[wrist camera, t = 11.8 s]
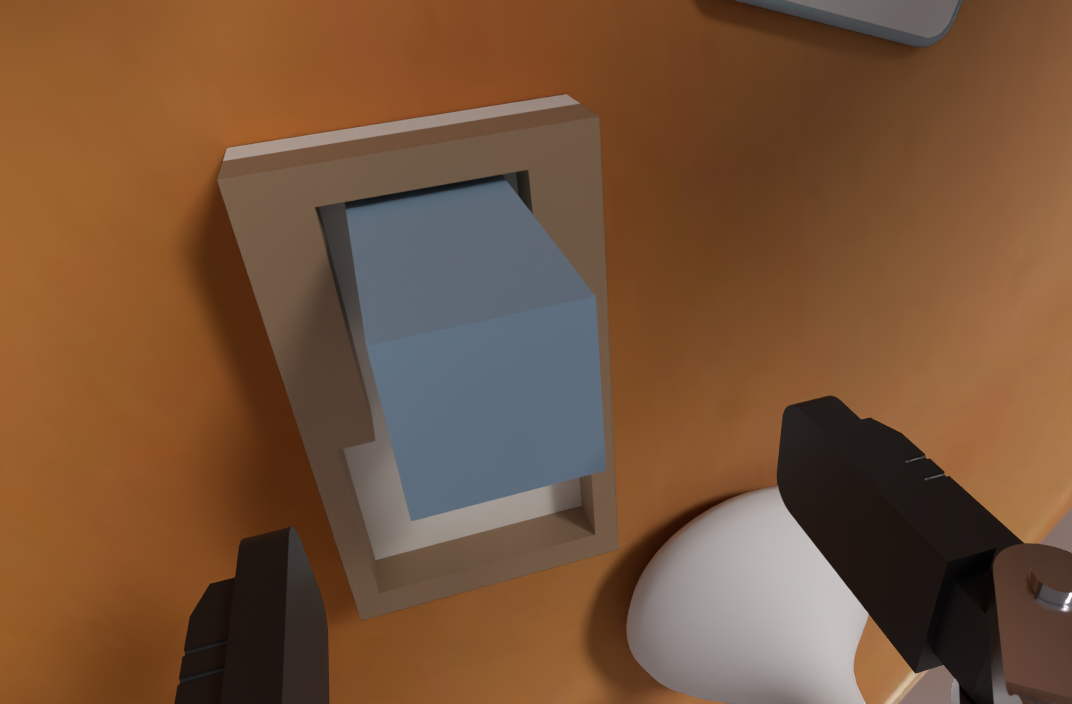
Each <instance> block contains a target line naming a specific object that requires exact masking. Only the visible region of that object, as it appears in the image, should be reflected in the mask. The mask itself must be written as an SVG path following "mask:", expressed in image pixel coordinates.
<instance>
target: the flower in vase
mask: <svg viewBox="0 0 1072 704" xmlns="http://www.w3.org/2000/svg"><path fill="white" fill-rule="evenodd" d="M868 615H869V614H868V612H867V611H866V610H865V609H864V607H863V606H862V605H861V603H860V602H859V601H858V600H857V598H856V597H855V596H854V594H853V593H852V592H851V591H850V589H849V588H848V587H847V586H846V584H845V583H844V582H843V580H842V579H841V578H840V577H839V575H838V574H837V573H836V571H835V570H834V569H833V568H832V566H831V565H830V564H829V562H828V561H827V560H826V559H825V557H824V556H823V555H822V554H821V552H820V551H819V550H818V548H817V547H816V546H815V545H814V543H813V542H812V541H811V539H810V538H809V537H808V536H807V534H806V533H805V532H804V531H803V529H802V528H801V527H800V525H799V524H798V523H797V522H796V520H795V519H794V518H793V516H792V515H791V514H790V513H789V511H788V510H787V508H786V506H785V505H784V502H783V500H782V498H781V495H780V492H779V488H778V485H777V486H771V487H766V488H761V489H757V490H753V491H750V492H746V493H743V494H741V495H738V496H735V497H733V498H730V499H728V500H726V501H724V502H722V503H720V504H718V505H716V506H714V507H712V508H710V509H709V510H707V511H705V512H704V513H702V514H700V515H699V516H697V517H696V518H694V519H693V520H692V521H690V522H689V523H688V524H686V525H685V526H683V527H682V528H681V529H680V530H679V531H678V532H676V533H675V534H674V535H673V536H672V537H671V538H670V539H669V540H668V541H667V542H666V543H665V544H664V545H663V546H662V547H661V548H660V549H659V550H658V551H657V553H656V554H655V555H654V557H653V558H652V559H651V561H650V562H649V563H648V565H647V566H646V568H645V570H644V571H643V573H642V574H641V576H640V578H639V580H638V582H637V585H636V587H635V589H634V592H633V596H632V599H631V603H630V607H629V612H628V618H627V626H626V630H627V640H628V644H629V648H630V651H631V652H632V654H633V656H634V658H635V660H636V661H637V662H638V663H639V664H640V666H641V667H642V668H643V669H644V670H646V671H647V672H648V673H649V674H650V675H651V676H652V677H653V678H654V679H655V680H657V681H658V682H659V683H660V684H662V685H664V686H665V687H667V688H669V689H671V690H674V691H677V692H681V693H684V694H687V695H690V696H693V697H697V698H700V699H704V700H710V701H717V702H725V703H733V704H866V703H865V701H864V699H863V697H862V695H861V693H860V691H859V689H858V687H857V685H856V680H855V676H854V671H853V668H854V657H855V653H856V650H857V646H858V643H859V640H860V637H861V635H862V632H863V629H864V627H865V624H866V621H867V619H868Z"/></svg>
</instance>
